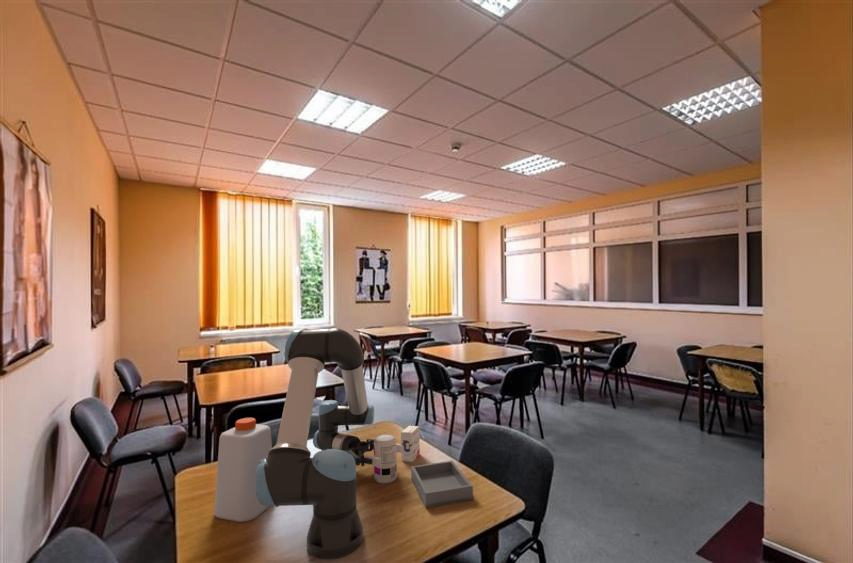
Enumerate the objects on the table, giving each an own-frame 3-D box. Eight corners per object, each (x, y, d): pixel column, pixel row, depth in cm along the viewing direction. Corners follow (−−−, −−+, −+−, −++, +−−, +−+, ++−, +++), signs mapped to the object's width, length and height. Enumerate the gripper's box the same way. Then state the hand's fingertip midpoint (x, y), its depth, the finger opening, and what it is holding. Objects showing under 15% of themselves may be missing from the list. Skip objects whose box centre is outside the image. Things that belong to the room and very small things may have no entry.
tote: (472, 499, 125) (472, 485, 125) (425, 508, 121) (425, 493, 121) (452, 472, 145) (452, 460, 145) (411, 478, 140) (411, 466, 140)
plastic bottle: (281, 499, 128) (280, 414, 129) (248, 526, 113) (247, 430, 114) (244, 493, 132) (243, 411, 133) (207, 518, 118) (207, 426, 119)
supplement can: (370, 482, 138) (370, 440, 139) (379, 472, 146) (379, 432, 146) (391, 485, 136) (390, 442, 136) (399, 474, 144) (399, 434, 144)
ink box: (409, 452, 164) (408, 424, 164) (420, 454, 162) (419, 425, 162) (401, 461, 156) (400, 431, 156) (412, 462, 154) (412, 432, 154)
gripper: (367, 443, 161) (410, 453, 150) (324, 467, 139) (370, 480, 129) (366, 425, 161) (409, 433, 151) (323, 446, 139) (370, 458, 129)
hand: (391, 455), depth 140 cm, fingers open, 13 cm apart
